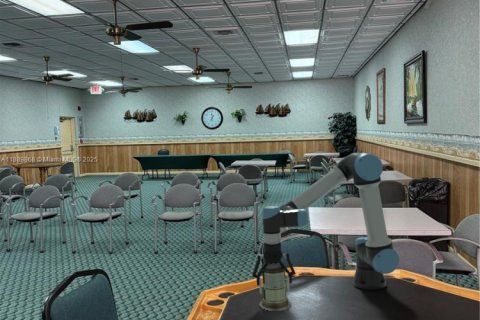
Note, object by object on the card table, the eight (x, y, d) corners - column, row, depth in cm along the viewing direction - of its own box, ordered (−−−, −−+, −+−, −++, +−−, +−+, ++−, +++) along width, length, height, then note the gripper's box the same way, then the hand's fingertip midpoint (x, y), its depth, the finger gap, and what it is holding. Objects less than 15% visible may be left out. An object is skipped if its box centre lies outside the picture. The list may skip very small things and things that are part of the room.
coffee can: (258, 298, 192) (257, 267, 192) (277, 293, 198) (276, 262, 197) (272, 305, 183) (271, 272, 183) (291, 299, 189) (290, 267, 188)
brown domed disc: (288, 298, 198) (288, 292, 198) (293, 310, 184) (293, 304, 184) (257, 300, 197) (257, 294, 197) (260, 312, 183) (260, 306, 183)
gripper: (297, 238, 194) (299, 287, 195) (244, 241, 193) (246, 290, 194) (301, 242, 186) (303, 292, 187) (245, 245, 185) (248, 296, 186)
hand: (274, 291), depth 190 cm, fingers open, 11 cm apart
